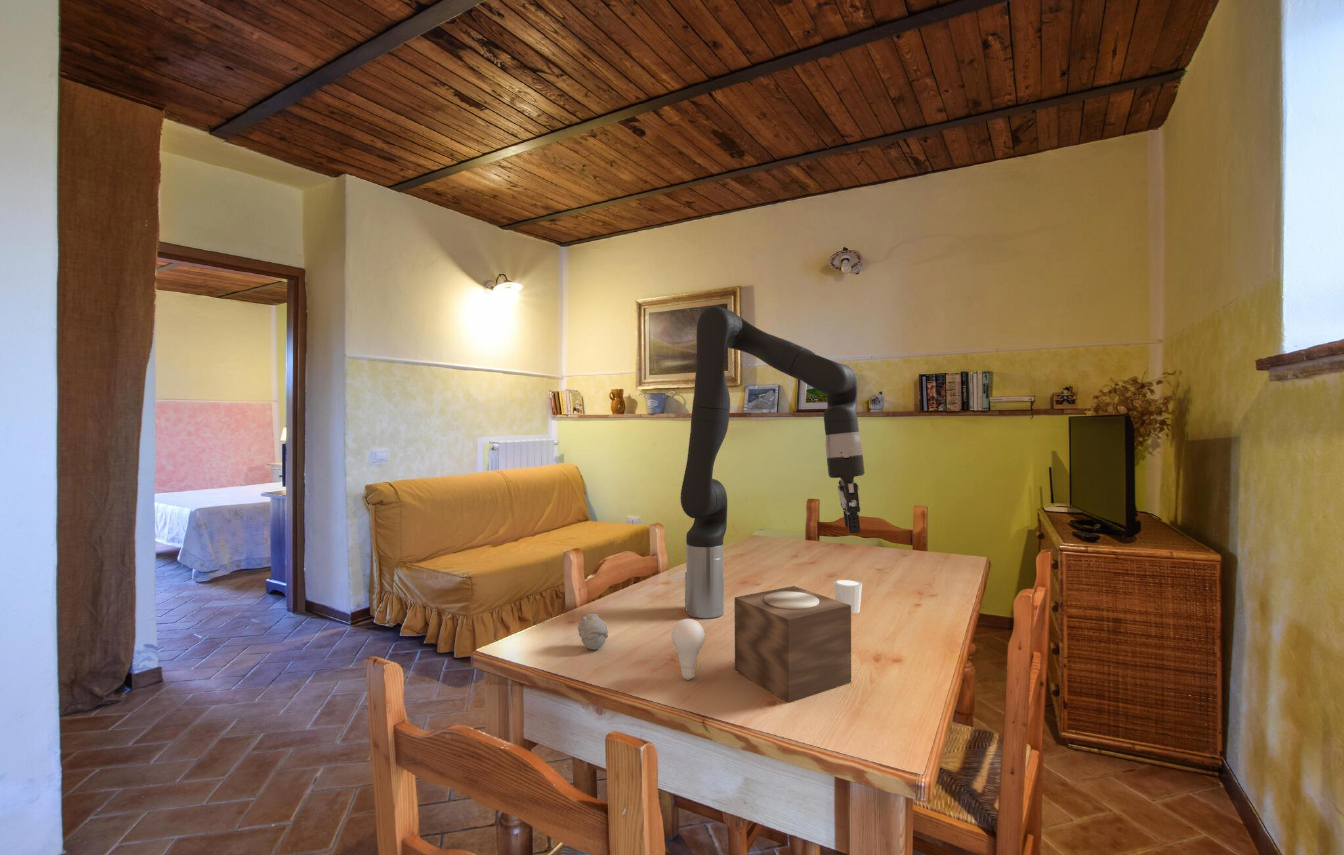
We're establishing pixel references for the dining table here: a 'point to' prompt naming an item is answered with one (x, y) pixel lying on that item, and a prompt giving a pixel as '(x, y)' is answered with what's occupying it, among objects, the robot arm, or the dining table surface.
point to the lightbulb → (688, 645)
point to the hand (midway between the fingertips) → (852, 529)
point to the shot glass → (849, 593)
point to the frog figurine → (592, 631)
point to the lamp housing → (793, 641)
